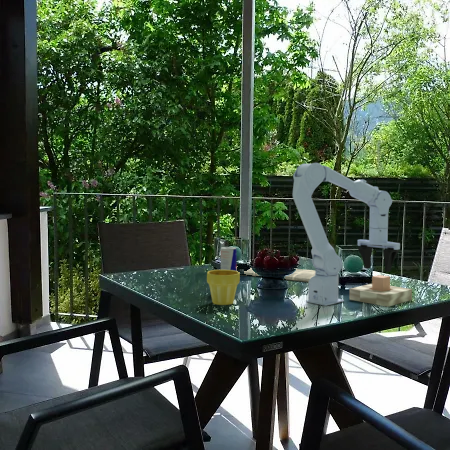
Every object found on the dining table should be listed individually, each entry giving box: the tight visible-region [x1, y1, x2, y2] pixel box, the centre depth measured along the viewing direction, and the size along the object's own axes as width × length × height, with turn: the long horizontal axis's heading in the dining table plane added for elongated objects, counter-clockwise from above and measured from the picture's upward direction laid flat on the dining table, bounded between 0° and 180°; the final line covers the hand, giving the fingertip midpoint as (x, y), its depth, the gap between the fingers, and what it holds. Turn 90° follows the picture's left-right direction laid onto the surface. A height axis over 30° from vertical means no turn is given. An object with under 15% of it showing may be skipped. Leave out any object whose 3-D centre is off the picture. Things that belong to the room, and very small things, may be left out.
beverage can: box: [220, 246, 238, 271], centre depth 196 cm, size 6×6×15 cm
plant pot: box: [206, 269, 241, 306], centre depth 175 cm, size 10×10×10 cm
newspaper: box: [244, 268, 316, 283], centre depth 227 cm, size 37×19×3 cm, turn 57°
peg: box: [371, 274, 391, 292], centre depth 179 cm, size 4×4×7 cm
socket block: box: [348, 283, 413, 308], centre depth 179 cm, size 14×14×4 cm
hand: (377, 269), depth 181 cm, fingers open, 7 cm apart
